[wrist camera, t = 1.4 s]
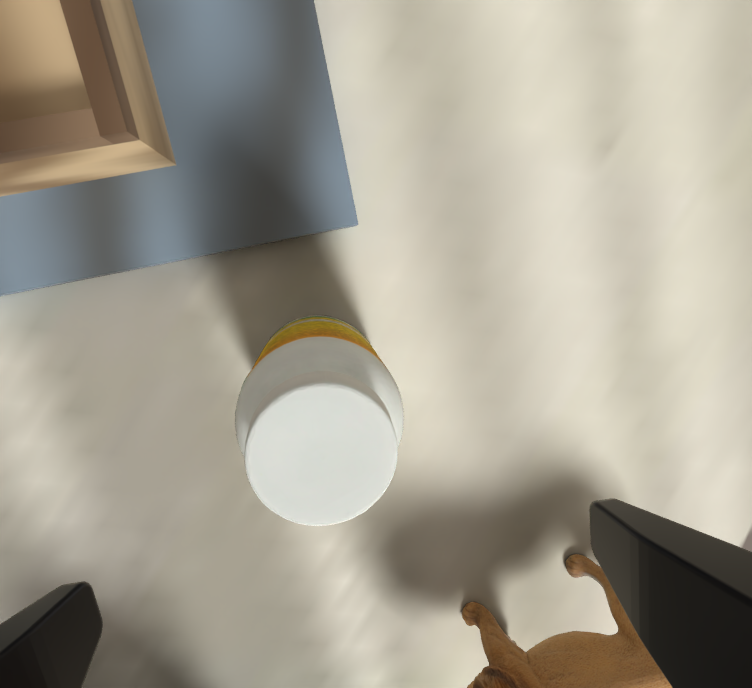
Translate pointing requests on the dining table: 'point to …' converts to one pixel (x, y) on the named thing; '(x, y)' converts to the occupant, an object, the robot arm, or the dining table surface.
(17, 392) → the dining table surface
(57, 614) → the robot arm
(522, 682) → the lion figurine
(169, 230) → the base
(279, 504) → the supplement bottle
